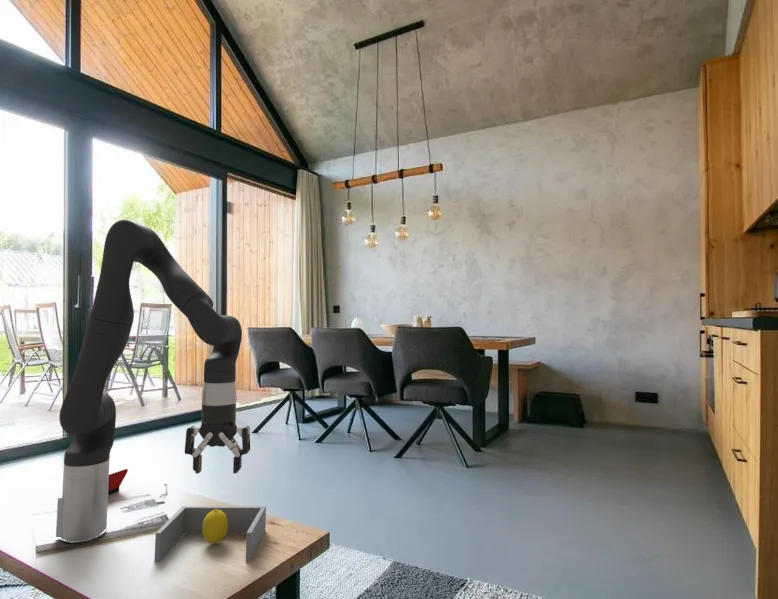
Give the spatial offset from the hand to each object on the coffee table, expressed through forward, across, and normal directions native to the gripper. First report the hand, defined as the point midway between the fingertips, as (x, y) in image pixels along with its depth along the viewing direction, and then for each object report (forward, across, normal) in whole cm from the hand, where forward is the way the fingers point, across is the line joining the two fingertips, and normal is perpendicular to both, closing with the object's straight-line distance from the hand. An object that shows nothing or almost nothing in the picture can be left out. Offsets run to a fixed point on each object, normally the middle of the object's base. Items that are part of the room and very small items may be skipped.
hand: (217, 472), depth 111 cm
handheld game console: (+16, -43, +30) cm, 55 cm away
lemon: (+16, 0, 0) cm, 16 cm away
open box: (+16, 0, -1) cm, 16 cm away
